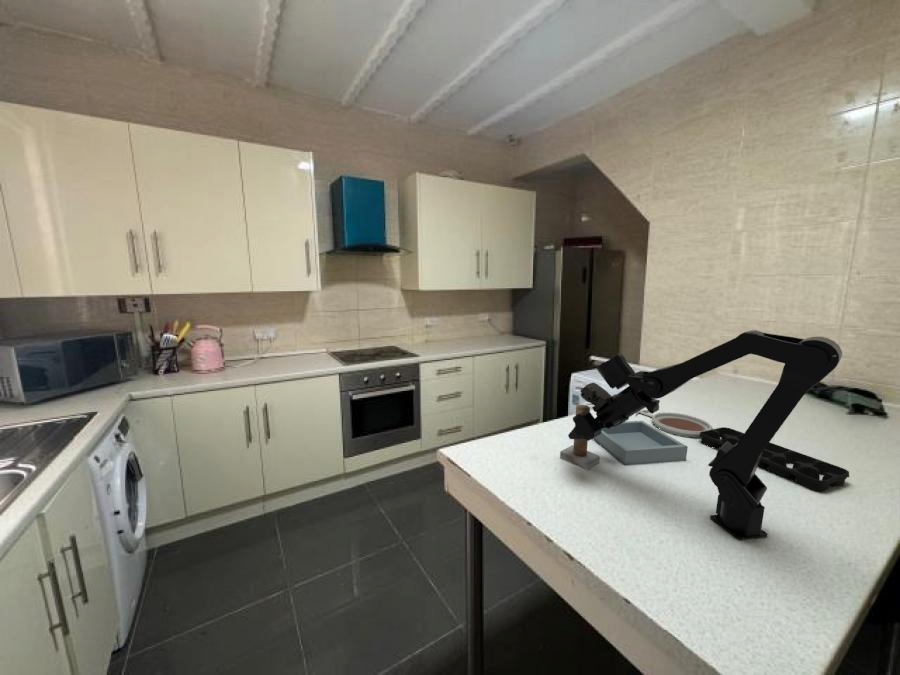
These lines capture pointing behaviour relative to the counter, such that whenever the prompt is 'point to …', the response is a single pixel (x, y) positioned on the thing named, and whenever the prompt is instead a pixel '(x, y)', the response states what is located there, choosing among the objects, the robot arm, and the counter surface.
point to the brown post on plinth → (580, 449)
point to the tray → (640, 444)
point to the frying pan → (679, 423)
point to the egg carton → (784, 461)
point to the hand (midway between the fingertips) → (579, 432)
